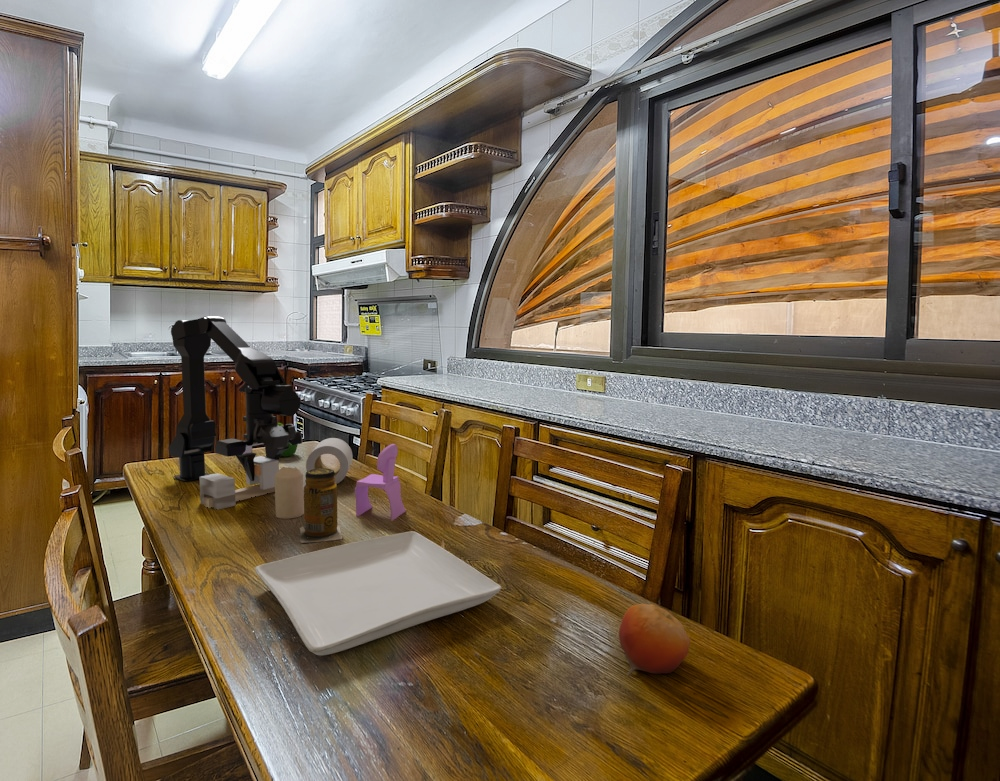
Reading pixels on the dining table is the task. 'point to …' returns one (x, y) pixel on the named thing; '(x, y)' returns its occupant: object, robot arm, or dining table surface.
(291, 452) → the bell pepper
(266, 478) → the white block orange stripe
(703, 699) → the dining table surface
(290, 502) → the candle
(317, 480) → the condiment
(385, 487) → the toy chair
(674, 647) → the fruit
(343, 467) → the toilet paper
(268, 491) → the grey block with bar
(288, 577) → the square plate
